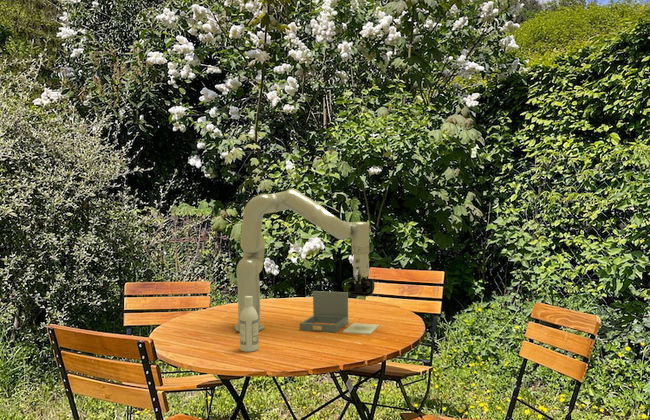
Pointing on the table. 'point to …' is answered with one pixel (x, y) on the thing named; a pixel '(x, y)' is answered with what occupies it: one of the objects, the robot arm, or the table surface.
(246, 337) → the bath foam
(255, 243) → the robot arm
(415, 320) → the table surface
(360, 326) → the grey mat
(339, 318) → the equipment case
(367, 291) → the end cap
